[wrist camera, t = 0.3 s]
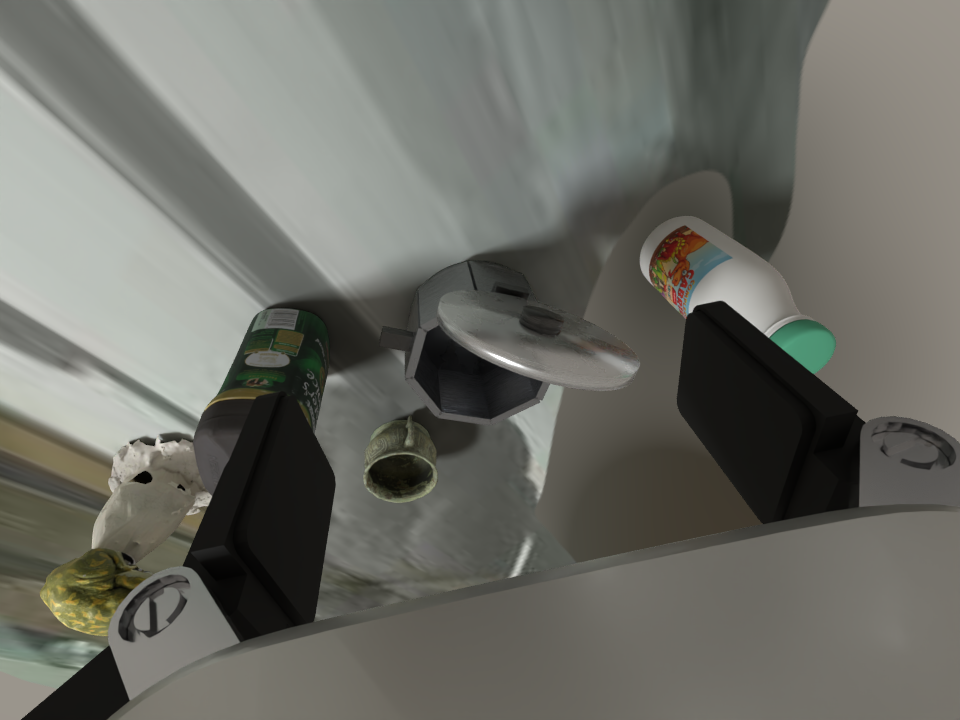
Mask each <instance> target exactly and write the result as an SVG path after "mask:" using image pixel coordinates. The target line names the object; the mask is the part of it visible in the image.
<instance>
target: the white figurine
mask: <svg viewBox="0 0 960 720" xmlns="http://www.w3.org/2000/svg"><path fill="white" fill-rule="evenodd" d="M158 437H159V435H158V436H157V438H156V442H155V443H156V444H155V446H156V447H155V446H149V445H145V444H144V443H142V442H140V440H137V441H136V442H135V443H134V444H133V445H132V444H129V442H128V444H127V445H126V447H124V446H123V447H122V448H121V449H120V450H119V451H118V452H117V454H116V455H115V456H114V457H113V460H114V464H113V468H112V475H111V477H110V478H109V482H108V484H109V486H110V489H111V490H112V492H113V494H112V496H111V497H110V499H109V500H108V501H107V503H106V504H105V506H104V507H103V509H102V511H101V512H100V514H99V516H98V518H97V520H96V522H95V525H94V528H93V537H92V550H90V551H88V552H86V553H85V554H84V555H83V556H82V557H79V558H75V559H74V560H72V561H70V562H68V563H66V564H63V565H61V566H59V567H58V568H56V569H54V570H53V571H52V572H51V573H50V574H49V575H48V577H47V579H46V584H45V585H44V587H43V588H42V589H41V591H40V596H41V598H42V600H43V601H44V603H45V604H46V605H47V606H48V607H49V608H50V610H51V611H52V613H53V614H54V615H55V616H56V617H57V619H58V620H59V621H60V622H62V623H63V624H65V625H66V626H67V627H69V628H72V629H74V630H77V631H81V632H84V633H88V634H93V635H98V636H108V629H109V625H110V622H111V618H112V617H113V615H114V613H115V612H116V610H117V608H118V606H119V605H120V604H121V602H122V601H123V600H124V599H125V598H126V597H127V595H128V594H129V593H130V592H131V591H132V590H133V589H135V588H136V587H137V586H138V585H139V584H140V583H142V582H143V581H144V580H146V579H148V578H149V577H151V576H152V575H153V574H152V573H151V572H148V571H143V570H142V569H139V568H138V567H137V566H136V563H137V562H138V561H140V560H141V559H142V558H143V557H145V556H146V555H147V554H149V553H150V552H151V551H153V550H154V549H155V548H156V547H158V546H159V545H160V544H161V543H162V542H164V541H165V540H166V539H167V538H168V537H169V536H170V535H171V534H172V533H173V532H174V531H175V529H176V528H177V527H178V526H179V524H180V523H181V521H182V520H183V518H184V517H185V516H186V515H192V514H196V513H198V512H200V509H197V508H199V507H202V506H208V505H209V503H210V500H211V498H212V496H211V495H210V494H209V493H208V491H207V490H206V489H205V487H204V485H203V483H202V480H201V477H200V474H199V471H198V467H197V463H196V458H195V452H194V446H193V442H191V443H190V442H189V441H186V440H183V439H182V440H181V441H180V442H179V443H177V442H176V441H170V442H167V443H160V442H161V440H160V439H159V438H158ZM143 471H148V472H149V473H150V474H151V476H152V478H153V479H152V482H150V483H147V484H142V483H138V482H129V481H130V480H132V479H133V478H134V477H135V476H137V475H138V474H139V473H141V472H143ZM127 482H128V483H127ZM179 484H181V485H182V486H183V487H184V488H185V492H184V491H183V490H182V489H177V486H178V485H179ZM196 509H197V510H196ZM94 637H95V636H94Z"/></svg>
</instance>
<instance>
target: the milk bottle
mask: <svg viewBox="0 0 960 720" xmlns="http://www.w3.org/2000/svg"><path fill="white" fill-rule="evenodd" d="M640 267H641V270H642V272H643V275H644V276H645V277H646V278H647V280H648V281H649V282H650V283H651V284H652V285H653V286H654V287H655V288H656V289H657V290H658V291H659V292H660V293H661V294H662V295H663V296H664V297H665V298H666V300H667V301H668V302H669V303H670V304H671V305H672V306H673V307H674V308H675V309H676V310H677V311H678V312H679V313H680V314H682V316H683V317H685V319H686V317H687V315H688V314H689V313H692V312H693V309H694V307H695V306H697V305H701V304H706V303H711V302H715V301H724V302H726V303H727V304H728V305H729V306H731V307H732V308H733V309H734V310H735V311H737V312H738V313H739V314H740V315H742V316H743V317H744V318H745V319H746V320H748V321H749V322H750V323H751V324H753V325H754V326H755V327H756V328H757V329H759V330H760V331H761V332H762V333H764V334H765V335H766V336H767V337H768V338H770V339H771V340H772V341H773V342H775V343H776V344H777V345H778V346H780V347H781V348H782V349H783V350H784V351H786V352H787V353H788V354H789V355H791V356H792V357H793V358H794V359H795V360H797V361H798V362H799V363H800V364H802V365H803V366H804V367H805V368H806V369H808V370H809V371H810V372H811V373H813V374H814V373H816V372H817V371H819V370H820V369H821V368H822V367H824V366H825V364H826V363H827V362H828V361H829V359H830V358H831V357H832V355H833V353H834V350H835V347H836V340H835V337H834V335H833V334H832V333H831V332H830V331H829V330H828V329H827V328H825V327H824V326H823V325H821V324H819V323H818V322H816V321H815V320H814V319H813V318H811V317H809V316H806V315H801V314H800V312H799V311H798V309H797V307H796V306H795V304H794V301H793V298H792V295H791V292H790V290H789V287H788V285H787V283H786V281H785V280H784V278H783V277H782V276H781V274H780V273H779V272H778V271H777V270H776V269H775V268H774V267H773V266H772V265H770V264H769V263H768V262H766V261H765V260H764V259H762V258H761V257H759V256H758V255H757V254H755V253H754V252H752V251H751V250H749V249H747V248H746V247H744V246H743V245H741V244H740V243H738V242H737V241H735V240H734V239H732V238H730V237H729V236H727V235H726V234H724V233H722V232H721V231H719V230H718V229H716V228H715V227H713V226H711V225H710V224H708V223H707V222H705V221H703V220H701V219H699V218H697V217H694V216H678V217H675V218H671V219H669V220H667V221H665V222H663V223H662V224H660V225H659V226H657V227H656V228H655V229H654V230H653V231H652V232H651V233H650V235H649V236H648V237H647V239H646V241H645V243H644V244H643V247H642V250H641V254H640Z"/></svg>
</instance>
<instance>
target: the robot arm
mask: <svg viewBox="0 0 960 720" xmlns="http://www.w3.org/2000/svg"><path fill="white" fill-rule="evenodd" d="M677 405H678V409H679V411H680V413H681V415H682V416H683V417H684V419H685V420H686V421H687V423H688V424H689V426H690V427H691V428H692V430H693V431H694V432H695V434H696V435H697V436H698V438H699V439H700V441H701V442H702V443H703V445H704V446H705V447H706V449H707V450H708V451H709V453H710V454H711V455H712V457H713V458H714V459H715V461H716V462H717V463H718V465H719V466H720V467H721V469H722V470H723V472H724V473H725V474H726V476H727V477H728V478H729V480H730V481H731V482H732V484H733V485H734V487H735V488H736V489H737V491H738V492H739V493H740V495H741V496H742V497H743V499H744V500H745V501H746V503H747V504H748V505H749V507H750V508H751V509H752V511H753V512H754V514H755V515H756V516H757V518H758V519H759V520H760V521H761V522H762V523H763V524H762V525H757V526H752V527H747V528H742V529H737V530H732V531H728V532H723V533H718V534H714V535H708V536H704V537H699V538H695V539H689V540H685V541H680V542H675V543H670V544H666V545H661V546H656V547H651V548H647V549H642V550H638V551H633V552H628V553H623V554H618V555H614V556H609V557H605V558H600V559H595V560H590V561H586V562H581V563H576V564H572V565H567V566H562V567H558V568H553V569H549V570H544V571H539V572H535V573H530V574H525V575H521V576H516V577H512V578H507V579H502V580H498V581H493V582H489V583H484V584H479V585H475V586H470V587H466V588H461V589H457V590H452V591H448V592H443V593H439V594H434V595H430V596H425V597H421V598H416V599H412V600H407V601H403V602H398V603H394V604H389V605H385V606H380V607H375V608H371V609H366V610H362V611H358V612H354V613H350V614H345V615H341V616H337V617H333V618H329V619H325V620H320V621H316V622H313V621H314V618H315V614H316V607H317V601H318V595H319V588H320V582H321V576H322V569H323V563H324V556H325V550H326V544H327V537H328V531H329V525H330V518H331V512H332V505H333V499H334V493H335V485H336V484H335V476H334V473H333V470H332V468H331V466H330V464H329V462H328V460H327V458H326V456H325V454H324V452H323V450H322V448H321V446H320V444H319V442H318V440H317V438H316V436H315V435H314V433H313V431H312V429H311V427H310V425H309V423H308V421H307V419H306V417H305V415H304V413H303V411H302V409H301V407H300V405H299V403H298V401H297V399H296V397H295V396H293V395H290V396H288V395H287V394H286V393H285V392H284V391H279V392H274V393H269V394H264V395H260V396H257V397H256V398H255V400H254V402H253V404H252V407H251V409H250V412H249V414H248V416H247V419H246V421H245V423H244V426H243V428H242V431H241V433H240V435H239V438H238V440H237V442H236V445H235V447H234V450H233V452H232V454H231V457H230V459H229V461H228V462H227V464H226V466H225V467H224V470H223V472H222V474H221V477H220V479H219V481H218V484H217V486H216V489H215V491H214V493H213V496H212V498H211V500H210V503H209V505H208V507H207V510H206V512H205V514H204V517H203V519H202V522H201V524H200V526H199V529H198V531H197V533H196V536H195V538H194V540H193V543H192V545H191V547H190V550H189V552H188V555H187V557H186V559H185V562H184V564H183V566H179V567H172V568H168V569H165V570H163V571H160V572H158V573H156V574H154V575H152V576H151V577H149V578H148V579H146V580H144V581H143V582H142V583H140V584H139V585H138V586H137V587H136V588H135V589H133V590H132V591H131V592H130V593H129V594H128V595H127V597H126V598H125V599H124V600H123V601H122V602H121V604H120V605H119V606H118V608H117V610H116V612H115V613H114V615H113V617H112V618H111V622H110V625H109V629H108V641H109V646H108V647H107V648H106V649H104V650H103V651H102V652H101V653H100V654H98V655H97V656H96V657H95V658H94V659H92V660H91V661H90V662H89V663H88V664H86V665H85V666H84V667H83V668H82V669H81V670H79V671H78V672H77V673H76V674H75V675H73V676H72V677H71V678H70V679H69V680H67V681H66V682H65V683H64V684H63V685H62V686H60V687H59V688H58V689H57V690H56V691H54V692H53V693H52V694H51V695H50V696H48V697H47V698H46V699H45V700H44V701H43V702H41V703H40V704H39V705H38V706H37V707H35V708H34V709H33V710H32V711H31V712H30V713H28V714H27V715H26V716H25V717H24V718H22V719H21V720H960V443H959V442H958V441H957V440H956V439H955V438H953V437H952V436H950V435H949V434H947V433H946V432H944V431H943V430H941V429H938V428H937V427H934V426H932V425H930V424H928V423H925V422H921V421H918V420H914V419H910V418H904V417H896V416H890V417H879V418H875V419H872V420H869V421H868V422H867V423H865V422H864V421H863V420H862V419H860V418H859V417H858V416H857V412H858V410H857V409H855V408H854V407H853V406H852V405H850V404H849V403H848V402H847V401H845V400H844V399H843V398H842V397H841V396H839V395H838V394H837V393H836V392H835V391H833V390H832V389H831V388H830V387H829V386H827V385H826V384H825V383H823V382H822V381H821V380H820V379H819V378H817V377H816V376H815V375H814V374H813V373H811V372H810V371H809V370H808V369H806V368H805V367H804V366H803V365H802V364H800V363H799V362H798V361H797V360H795V359H794V358H793V357H792V356H791V355H789V354H788V353H787V352H786V351H784V350H783V349H782V348H781V347H780V346H778V345H777V344H776V343H775V342H773V341H772V340H771V339H770V338H768V337H767V336H766V335H765V334H764V333H762V332H761V331H760V330H759V329H757V328H756V327H755V326H754V325H753V324H751V323H750V322H749V321H748V320H746V319H745V318H744V317H743V316H742V315H740V314H739V313H738V312H737V311H735V310H734V309H733V308H732V307H731V306H729V305H728V304H727V303H726V302H724V301H715V302H711V303H706V304H701V305H697V306H695V307H694V309H693V312H692V313H689V314H688V315H687V317H686V324H685V333H684V341H683V350H682V359H681V367H680V376H679V385H678V394H677Z"/></svg>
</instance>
